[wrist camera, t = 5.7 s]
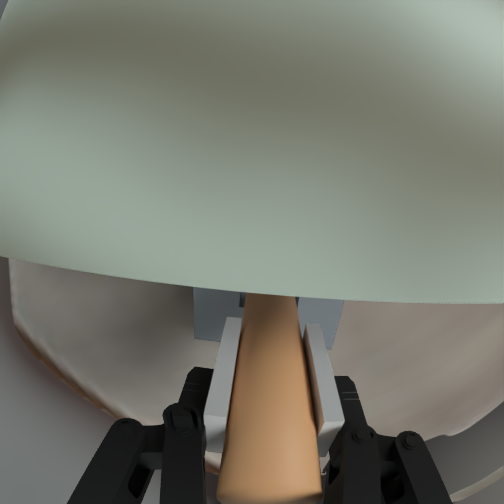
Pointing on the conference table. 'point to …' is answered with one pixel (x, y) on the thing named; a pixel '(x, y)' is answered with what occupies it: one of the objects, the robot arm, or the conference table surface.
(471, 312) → the conference table surface
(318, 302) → the socket board
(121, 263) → the panel
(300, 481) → the peg
